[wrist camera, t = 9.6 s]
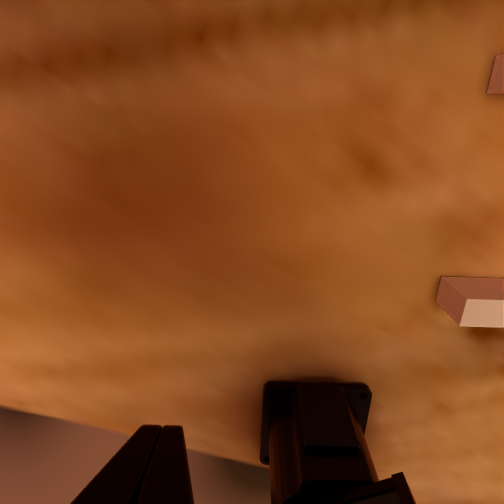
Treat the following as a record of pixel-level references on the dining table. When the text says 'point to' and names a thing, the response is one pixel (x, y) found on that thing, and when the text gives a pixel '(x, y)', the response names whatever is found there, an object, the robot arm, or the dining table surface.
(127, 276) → the dining table surface
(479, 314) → the white tray
